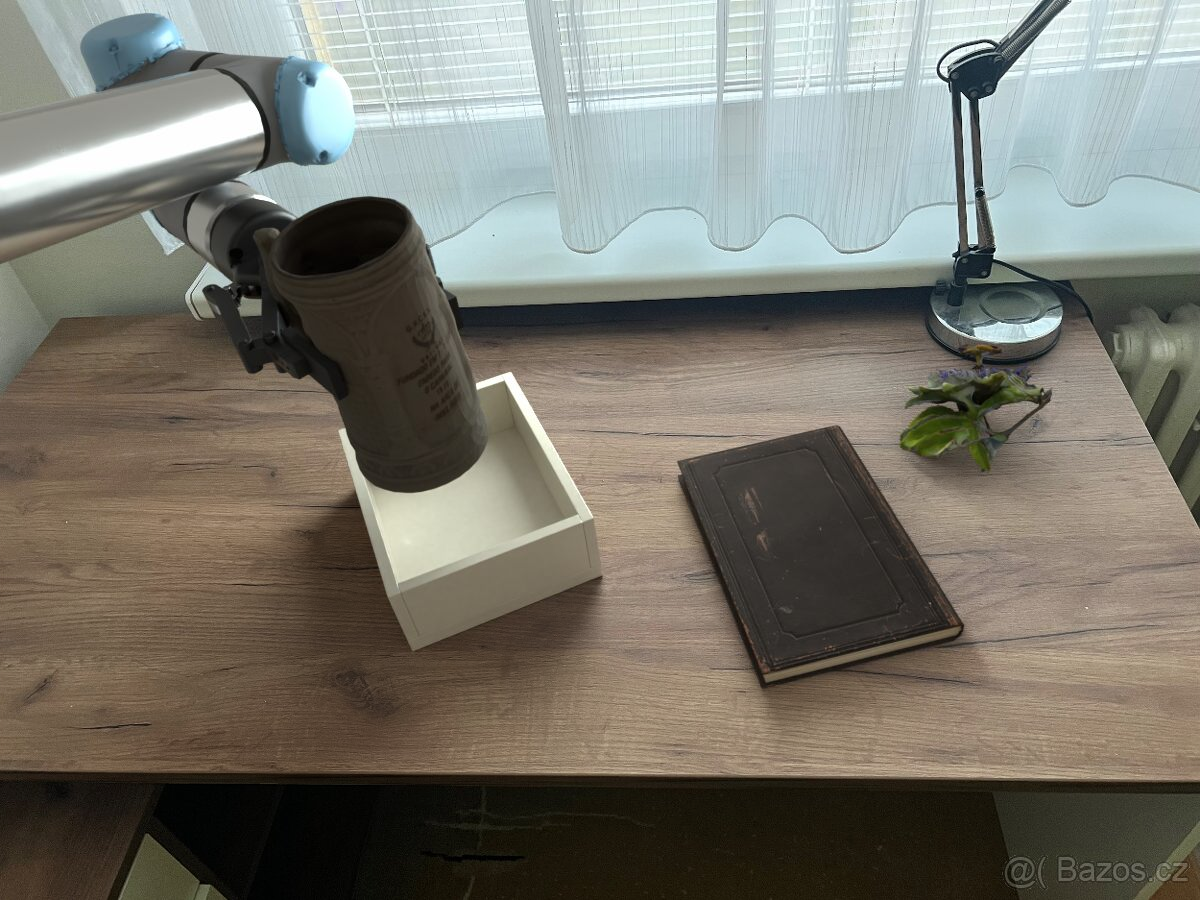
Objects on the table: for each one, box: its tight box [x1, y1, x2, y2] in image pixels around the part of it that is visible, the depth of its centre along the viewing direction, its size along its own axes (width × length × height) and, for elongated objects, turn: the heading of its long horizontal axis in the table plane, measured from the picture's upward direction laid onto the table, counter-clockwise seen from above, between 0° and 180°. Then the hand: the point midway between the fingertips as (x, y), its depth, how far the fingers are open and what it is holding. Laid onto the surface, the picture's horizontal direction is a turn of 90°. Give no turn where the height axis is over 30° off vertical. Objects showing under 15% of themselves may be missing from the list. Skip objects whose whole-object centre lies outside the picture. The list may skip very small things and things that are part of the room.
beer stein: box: [253, 195, 489, 493], centre depth 64 cm, size 15×11×20 cm
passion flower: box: [899, 343, 1053, 473], centre depth 79 cm, size 11×11×12 cm
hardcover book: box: [676, 424, 965, 689], centre depth 74 cm, size 16×23×2 cm
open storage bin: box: [337, 371, 604, 652], centre depth 78 cm, size 17×21×8 cm
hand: (399, 347), depth 61 cm, fingers closed on beer stein, 9 cm apart
